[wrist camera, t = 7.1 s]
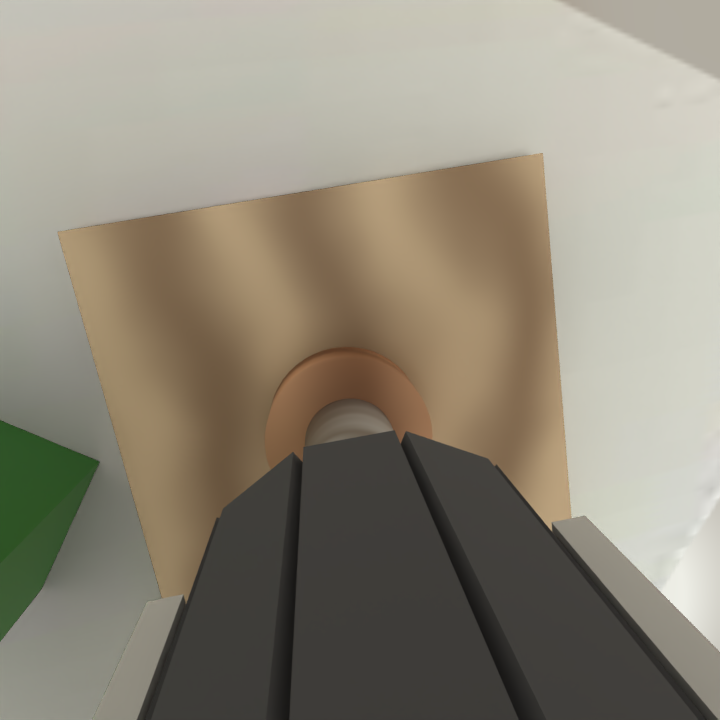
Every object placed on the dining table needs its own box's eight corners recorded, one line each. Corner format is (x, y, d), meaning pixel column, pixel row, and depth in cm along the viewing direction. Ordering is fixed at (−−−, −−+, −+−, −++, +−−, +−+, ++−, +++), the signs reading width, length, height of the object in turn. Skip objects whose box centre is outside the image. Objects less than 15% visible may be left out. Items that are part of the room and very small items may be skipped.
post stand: (184, 629, 27) (58, 1006, 14) (73, 232, 23) (-276, 218, 9) (562, 554, 28) (788, 839, 15) (528, 158, 24) (812, 47, 10)
